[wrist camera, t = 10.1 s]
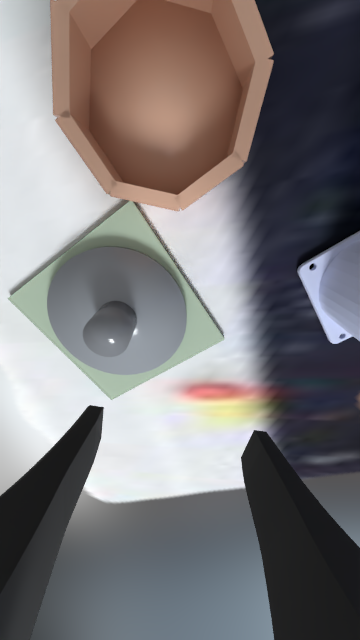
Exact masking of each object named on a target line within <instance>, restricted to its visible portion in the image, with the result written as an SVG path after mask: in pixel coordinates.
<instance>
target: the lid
mask: <svg viewBox="0 0 360 640" xmlns="http://www.w3.org/2000/svg"><path fill="white" fill-rule="evenodd" d="M47 311H48V317H49V320H50V324H51V326H52V329H53V331H54V333H55V334H56V336H57V338H58V339H59V341H60V342H61V344H62V345H63V346H64V347H65V348H66V349H67V350H68V351H69V352H70V353H71V354H72V355H73V356H74V357H75V358H77V359H78V360H80V361H81V362H83V363H84V364H86V365H88V366H90V367H92V368H94V369H97V370H100V371H103V372H106V373H111V374H117V375H133V374H140V373H144V372H147V371H150V370H153V369H155V368H157V367H159V366H160V365H162V364H164V363H165V362H166V361H167V360H169V359H170V358H171V357H172V356H173V355H174V353H175V352H176V351H177V349H178V348H179V346H180V344H181V342H182V340H183V338H184V334H185V331H186V324H187V311H186V304H185V300H184V296H183V294H182V291H181V289H180V287H179V285H178V284H177V282H176V280H175V279H174V278H173V276H172V275H171V274H170V272H169V271H168V270H167V269H166V268H165V267H164V266H163V265H161V264H160V263H159V262H157V261H156V260H155V259H153V258H151V257H150V256H148V255H146V254H144V253H142V252H139V251H137V250H133V249H130V248H126V247H119V246H104V247H97V248H93V249H90V250H87V251H84V252H82V253H80V254H78V255H76V256H74V257H72V258H71V259H69V260H68V261H67V262H66V263H65V264H63V265H62V266H61V267H60V269H59V270H58V271H57V273H56V274H55V276H54V278H53V279H52V281H51V284H50V287H49V290H48V296H47Z"/></svg>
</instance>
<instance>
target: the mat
mask: <svg viewBox="0 0 360 640" xmlns="http://www.w3.org/2000/svg"><path fill="white" fill-rule="evenodd" d="M104 246H119V247H126V248H130V249H133V250H137V251H139V252H142V253H144V254H146V255H148V256H150V257H151V258H153V259H155V260H156V261H157V262H159V263H160V264H161V265H163V266H164V267H165V268H166V269H167V270H168V271H169V272H170V274H171V275H172V276H173V278H174V279H175V280H176V282H177V284H178V285H179V287H180V289H181V291H182V294H183V296H184V300H185V304H186V311H187V324H186V331H185V334H184V338H183V340H182V342H181V344H180V346H179V348H178V349H177V351H176V352H175V353H174V355H173V356H172V357H171V358H170V359H169V360H167V361H166V362H165V363H164V364H162V365H160V366H159V367H157V368H155V369H153V370H150V371H147V372H144V373H140V374H133V375H117V374H111V373H106V372H103V371H100V370H97V369H94V368H92V367H90V366H88V365H86V364H84V363H83V362H81V361H80V360H78V359H77V358H75V357H74V356H73V355H72V354H71V353H70V352H69V351H68V350H67V349H66V348H65V347H64V346H63V345H62V344H61V342H60V341H59V339H58V338H57V336H56V334H55V333H54V331H53V329H52V326H51V324H50V320H49V317H48V311H47V296H48V290H49V287H50V284H51V281H52V279H53V278H54V276H55V274H56V273H57V271H58V270H59V269H60V267H61V266H62V265H63V264H65V263H66V262H67V261H68V260H69V259H71V258H72V257H74V256H76V255H78V254H80V253H82V252H84V251H87V250H90V249H93V248H97V247H104ZM8 300H10V301H11V302H12V303H13V304H14V305H15V306H16V307H17V308H18V309H19V310H20V311H21V312H22V313H23V314H24V315H25V316H26V317H27V318H28V319H29V320H30V321H31V322H32V323H33V324H34V325H35V326H36V327H37V328H38V329H39V330H40V331H41V332H42V333H43V334H44V335H45V336H46V337H47V338H48V339H49V340H51V341H52V342H53V343H54V344H55V345H56V346H57V347H58V348H59V349H60V350H61V351H62V352H63V353H64V354H65V355H66V356H67V357H68V358H69V359H70V360H71V361H72V362H73V363H74V364H75V365H76V366H77V367H78V368H79V369H80V370H81V371H82V372H83V373H84V374H85V375H86V376H87V377H88V378H89V379H90V380H92V381H93V382H94V383H95V384H96V385H97V386H98V387H99V388H100V389H101V390H102V391H103V392H104V393H105V394H106V395H107V396H108V397H109V398H110V399H111V400H112V399H114V398H116V397H118V396H120V395H122V394H124V393H125V392H127V391H129V390H131V389H133V388H135V387H137V386H139V385H140V384H142V383H144V382H146V381H148V380H150V379H152V378H153V377H155V376H157V375H159V374H161V373H163V372H165V371H167V370H168V369H170V368H172V367H174V366H176V365H178V364H180V363H181V362H183V361H185V360H187V359H189V358H191V357H193V356H195V355H196V354H198V353H200V352H202V351H204V350H206V349H208V348H209V347H211V346H213V345H215V344H217V343H219V342H221V341H223V340H224V337H223V335H222V334H221V332H220V331H219V329H218V328H217V326H216V325H215V323H214V322H213V320H212V319H211V317H210V316H209V314H208V313H207V311H206V310H205V308H204V307H203V305H202V304H201V302H200V301H199V299H198V298H197V296H196V295H195V293H194V292H193V290H192V289H191V287H190V286H189V284H188V283H187V281H186V280H185V278H184V277H183V275H182V274H181V272H180V271H179V269H178V268H177V266H176V265H175V263H174V262H173V260H172V259H171V257H170V256H169V254H168V253H167V251H166V250H165V248H164V247H163V245H162V244H161V242H160V241H159V239H158V238H157V236H156V235H155V233H154V232H153V230H152V229H151V227H150V226H149V224H148V223H147V221H146V220H145V218H144V217H143V215H142V214H141V212H140V211H139V209H138V208H137V206H136V205H135V203H134V202H133V201H129V202H128V203H126V204H125V205H124V206H123V207H121V208H120V209H119V210H118V211H116V212H115V213H114V214H113V215H111V216H110V217H109V218H108V219H106V220H105V221H104V222H103V223H101V224H100V225H99V226H98V227H96V228H95V229H94V230H93V231H91V232H90V233H89V234H88V235H86V236H85V237H84V238H83V239H81V240H80V241H79V242H78V243H76V244H75V245H74V246H73V247H71V248H70V249H69V250H68V251H66V252H65V253H64V254H63V255H61V256H60V257H59V258H58V259H56V260H55V261H54V262H53V263H51V264H50V265H49V266H48V267H46V268H45V269H44V270H43V271H41V272H40V273H39V274H38V275H36V276H35V277H34V278H33V279H31V280H30V281H29V282H28V283H26V284H25V285H24V286H23V287H21V288H20V289H19V290H18V291H16V292H15V293H14V294H13V295H11V296H10V297H9V298H8Z"/></svg>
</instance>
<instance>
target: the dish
mask: <svg viewBox="0 0 360 640" xmlns="http://www.w3.org/2000/svg"><path fill="white" fill-rule="evenodd" d="M50 10H51V48H52V86H53V115H54V116H56V117H57V119H56V120H55V121H56V122H57V124H58V125H59V127H60V128H61V129H62V131H63V132H64V134H65V135H66V137H67V138H68V139H69V141H70V142H71V144H72V145H73V147H74V148H75V149H76V151H77V152H78V154H79V155H80V157H81V158H82V159H83V161H84V162H85V164H86V165H87V167H88V168H89V169H90V171H91V172H92V174H93V175H94V177H95V178H96V179H97V181H98V182H99V184H100V185H101V186H102V188H103V189H104V191H105V192H106V194H110V196H111V197H116V198H120V199H125V200H129V201H134V202H138V203H143V204H147V205H152V206H156V207H161V208H165V209H170V210H174V211H180V208H181V209H182V211H183V210H184V209H186V208H187V207H188V206H190V205H191V204H192V203H194V202H195V201H196V200H198V199H199V198H201V197H202V196H203V195H205V194H206V193H207V192H209V191H210V190H211V189H213V188H214V187H216V186H217V185H218V184H220V183H221V182H222V181H224V180H225V179H226V178H228V177H229V176H231V175H232V174H233V173H235V172H236V171H237V170H239V169H240V168H241V167H242V166H244V165H243V164H244V163H245V162H246V161H247V158H248V154H249V150H250V147H251V143H252V139H253V136H254V132H255V128H256V125H257V121H258V117H259V114H260V110H261V106H262V103H263V99H264V95H265V91H266V88H267V84H268V80H269V77H270V73H271V69H272V66H273V62H274V60H271V58H272V56H273V54H274V53H273V50H272V47H271V44H270V42H269V39H268V36H267V33H266V30H265V28H264V25H263V22H262V19H261V17H260V14H259V11H258V8H257V5H256V3H255V0H57V1H54V0H50Z"/></svg>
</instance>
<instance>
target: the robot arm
mask: <svg viewBox="0 0 360 640" xmlns="http://www.w3.org/2000/svg"><path fill="white" fill-rule="evenodd" d="M313 263H314V267H313V268H312V269H309V266H310V265H311V264H313ZM297 271H298V274H299V277H300V279H301V281H302V283H303V285H304V288H305V290H306V292H307V294H308V296H309V298H310V301H311V303H312V305H313V307H314V309H315V312H316V314H317V316H318V318H319V320H320V323H321V325H322V327H323V329H324V331H325V333H326V336H327V338H328V340H329V341H330V342H331V343H333V344H337V343H339V342H341V341H344V340H346V339H348V338H350V337H352V336H353V337H355V338H356V339H357V340H359V341H360V231H358V232H357V233H355V234H353V235H351V236H350V237H348V238H346V239H344V240H343V241H341V242H339V243H338V244H336V245H334V246H332V247H331V248H329V249H327V250H325V251H324V252H322V253H320V254H318V255H317V256H315V257H313V258H311V259H310V260H308V261H306V262H304V263H303V264H301V265H300V266H299V267H298V270H297ZM341 334H343V335H342V336H340V335H341ZM339 336H340V337H339ZM103 409H104V407H98V406H91V405H90V406H88V407H87V408H86V410H85V411H84V412H83V413H82V415H81V416H80V417H79V418H78V420H77V421H76V422H75V423H74V424H73V426H72V427H71V428H70V429H69V430H68V431H67V432H66V433H65V435H64V436H63V437H62V438H61V439H60V440H59V441H58V442H57V443H56V444H55V445H54V446H53V447H52V448H51V450H50V451H48V453H46V454H45V455H44V457H43V458H41V459H40V460H39V461H38V462H37V463H36V464H35V465H34V466H33V467H32V468H31V469H30V470H29V471H28V472H27V473H26V474H25V475H24V476H23V477H21V478H20V479H19V480H18V481H17V482H16V483H15V484H14V485H12V486H11V487H10V488H9V489H8V490H7V491H6V492H5V493H3V494H2V495H1V496H0V640H30V638H31V635H32V632H33V628H34V625H35V622H36V619H37V616H38V613H39V610H40V607H41V603H42V600H43V597H44V594H45V591H46V587H47V585H48V582H49V579H50V576H51V572H52V569H53V566H54V563H55V560H56V557H57V554H58V551H59V548H60V545H61V542H62V539H63V536H64V533H65V531H66V528H67V525H68V523H69V520H70V518H71V515H72V513H73V511H74V508H75V506H76V503H77V501H78V498H79V496H80V494H81V491H82V489H83V487H84V484H85V482H86V479H87V477H88V475H89V472H90V470H91V467H92V465H93V462H94V459H95V456H96V453H97V450H98V446H99V443H100V440H101V433H102V421H103ZM241 461H242V470H243V477H244V483H245V487H246V491H247V496H248V500H249V504H250V508H251V512H252V516H253V520H254V524H255V528H256V532H257V536H258V540H259V544H260V550H261V554H262V559H263V566H264V572H265V578H266V584H267V591H268V597H269V604H270V611H271V617H272V625H273V633H274V640H360V548H359V547H358V546H357V544H356V543H355V542H354V541H353V540H352V539H351V538H350V537H349V536H348V535H347V534H346V533H345V531H344V530H343V529H342V528H340V526H339V525H338V524H337V523H336V521H335V520H334V519H333V518H332V517H331V516H330V515H329V514H328V513H327V511H326V510H325V509H324V508H323V506H322V505H321V504H320V503H319V501H318V500H317V499H316V498H315V497H314V495H313V494H312V493H311V492H310V490H309V489H308V488H307V487H306V485H305V484H304V483H303V481H302V480H301V479H300V477H299V476H298V475H297V473H296V472H295V471H294V469H293V468H292V467H291V465H290V464H289V463H288V461H287V460H286V459H285V457H284V456H283V454H282V453H281V452H280V450H279V449H278V447H277V446H276V445H275V443H274V442H273V440H272V439H271V438H270V436H269V435H268V434H267V432H263V431H256V430H254V432H253V434H252V436H251V438H250V440H249V442H248V444H247V446H246V448H245V450H244V453H243V455H242V457H241Z"/></svg>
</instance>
